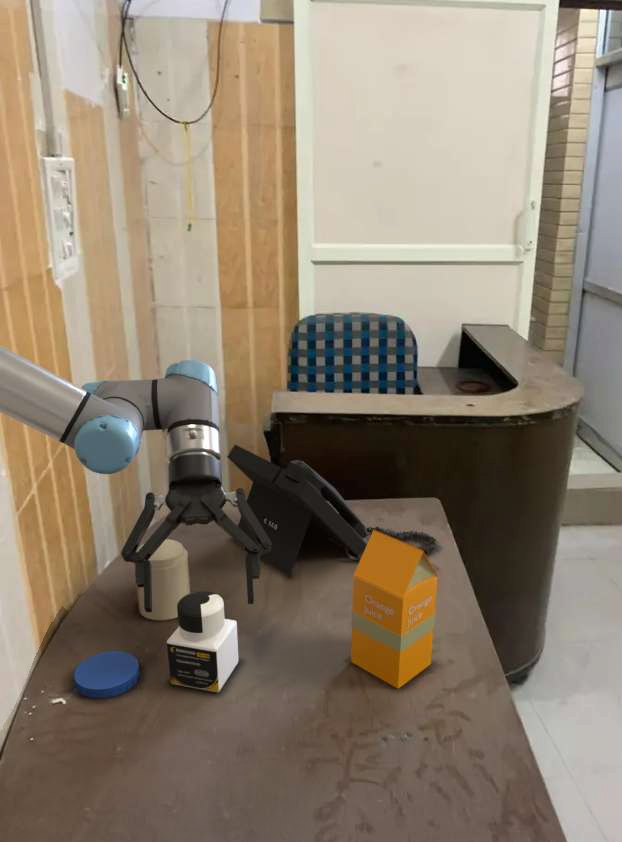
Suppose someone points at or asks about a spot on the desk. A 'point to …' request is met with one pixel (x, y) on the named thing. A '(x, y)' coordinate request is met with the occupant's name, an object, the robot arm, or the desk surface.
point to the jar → (166, 581)
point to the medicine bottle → (202, 643)
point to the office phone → (302, 510)
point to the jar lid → (106, 674)
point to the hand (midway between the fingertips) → (200, 606)
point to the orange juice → (393, 610)
